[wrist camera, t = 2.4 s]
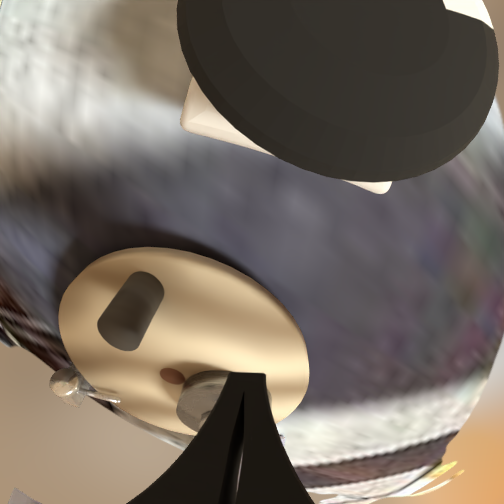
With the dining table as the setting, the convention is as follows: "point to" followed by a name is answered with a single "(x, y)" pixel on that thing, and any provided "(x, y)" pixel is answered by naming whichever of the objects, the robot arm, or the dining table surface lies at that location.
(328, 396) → the dining table surface
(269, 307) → the platter
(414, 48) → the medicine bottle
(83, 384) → the silver knobbed piece
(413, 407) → the dining table surface
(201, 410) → the cover
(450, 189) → the dining table surface
